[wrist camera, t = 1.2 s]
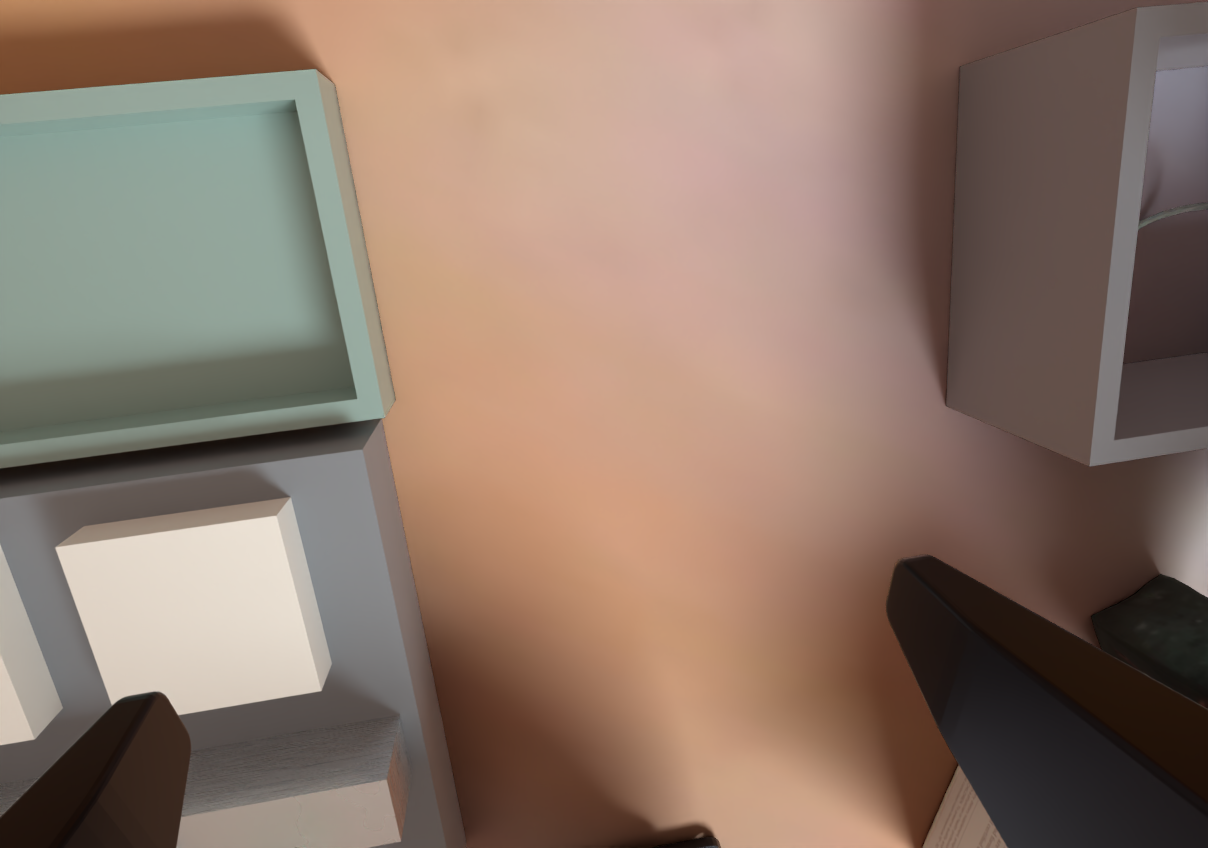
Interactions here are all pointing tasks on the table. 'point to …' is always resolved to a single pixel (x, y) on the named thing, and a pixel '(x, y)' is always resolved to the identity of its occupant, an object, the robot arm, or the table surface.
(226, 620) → the tile
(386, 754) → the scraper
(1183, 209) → the headphones
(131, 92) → the bin
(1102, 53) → the gray open box
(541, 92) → the table surface
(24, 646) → the tile
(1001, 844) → the supplement box
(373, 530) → the board
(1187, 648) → the power drill
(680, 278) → the table surface
